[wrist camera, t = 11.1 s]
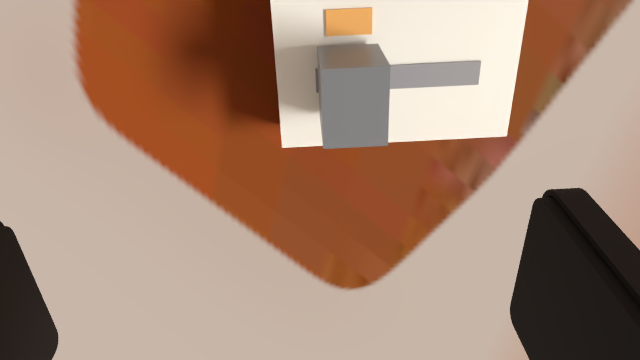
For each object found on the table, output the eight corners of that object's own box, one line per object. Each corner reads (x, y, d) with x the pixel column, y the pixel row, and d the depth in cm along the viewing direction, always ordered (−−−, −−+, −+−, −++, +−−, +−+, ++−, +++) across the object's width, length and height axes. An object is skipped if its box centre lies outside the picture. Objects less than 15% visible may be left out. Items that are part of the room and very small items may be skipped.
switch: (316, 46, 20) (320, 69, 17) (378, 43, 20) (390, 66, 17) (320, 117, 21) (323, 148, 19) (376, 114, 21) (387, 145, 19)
